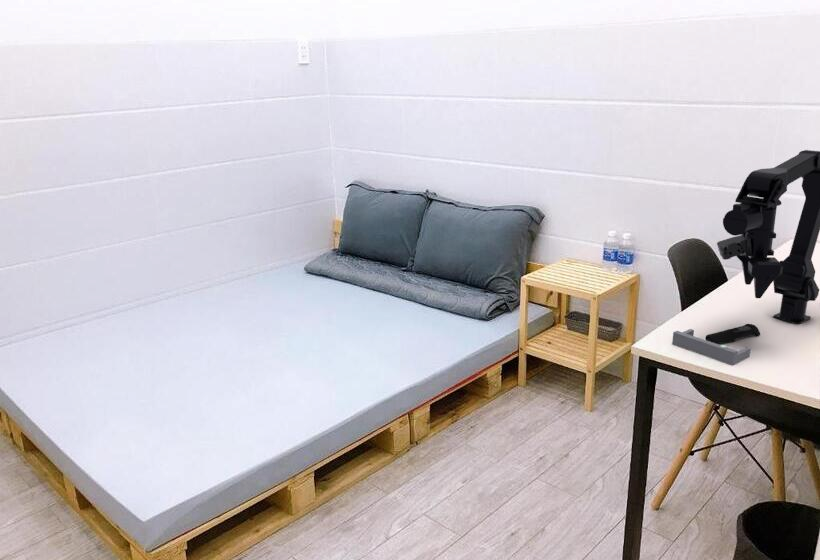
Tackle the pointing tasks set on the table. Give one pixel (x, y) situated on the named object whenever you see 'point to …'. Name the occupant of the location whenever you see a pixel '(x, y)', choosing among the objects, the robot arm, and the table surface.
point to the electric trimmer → (733, 334)
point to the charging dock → (709, 347)
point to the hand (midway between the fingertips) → (752, 291)
